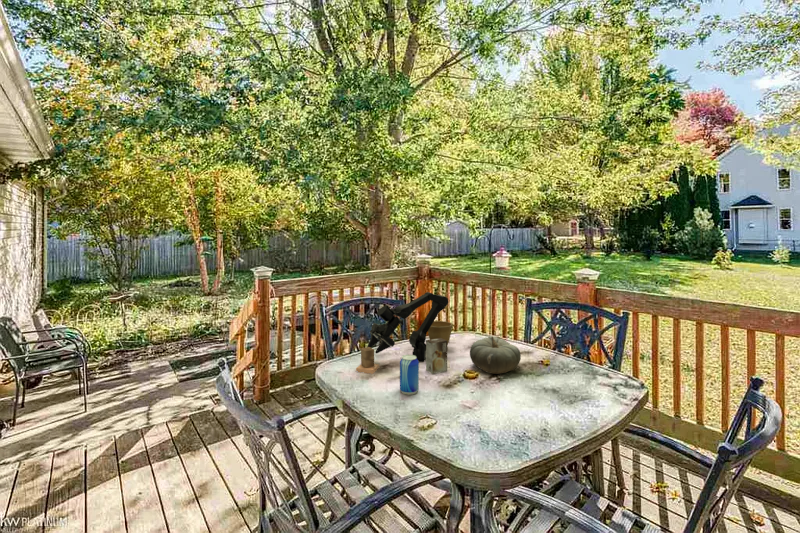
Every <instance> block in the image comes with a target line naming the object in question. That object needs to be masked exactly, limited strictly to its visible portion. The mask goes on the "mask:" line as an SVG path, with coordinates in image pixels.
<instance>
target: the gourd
mask: <svg viewBox="0 0 800 533" xmlns="http://www.w3.org/2000/svg"><path fill="white" fill-rule="evenodd" d="M469 357H470V359H471V362H472V363H473V365H475V367H477V368H479V369H481V370H482V371H484V372H486V373H490V374H496V375H499V374H505V373H507V372H510V371H514V370H515V369H516V368H517V367H518V366H519V364H520V362H521V357H522V356H521V351H520V349H519V348H518V347H517V346H516V345H514V344H510V342H508V341H506V340H505V339H504V338H503V339H502V338H498V337H497V336H494V335H489V336H488V337H484V338H481V339H478V340H476V341H475V342H474V343H472V345H471V346H470V349H469Z"/></svg>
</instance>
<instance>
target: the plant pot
mask: <svg viewBox="0 0 800 533" xmlns="http://www.w3.org/2000/svg"><path fill="white" fill-rule="evenodd" d="M452 330H453V323H452V322H450V321H443V320H434V322H433V323H432V325H431V327H430V329H429V330H428V332H427V334H428V340H430V339H436V338H442V339H444V340H447V347H448V345H449V342H450V338H451V335H452Z"/></svg>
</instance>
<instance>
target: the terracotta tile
mask: <svg viewBox="0 0 800 533" xmlns="http://www.w3.org/2000/svg"><path fill="white" fill-rule="evenodd" d="M378 368H379V369H380V363H374V367H370V368H364V367H363V366H361V364H359V365H358V366H357V367H356V368H355V369H356V370H355V372H356V371H358V372H357V373H361V372H364V373H363V374H369V373H371V375H373V374H374V373H375V372H377V371H378V370H379V369H378ZM377 369H378V370H377Z"/></svg>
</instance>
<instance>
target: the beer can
mask: <svg viewBox="0 0 800 533" xmlns="http://www.w3.org/2000/svg"><path fill="white" fill-rule="evenodd" d="M419 362H420V361H418V360H417V357H416V356H415V355H412V354H405V355H402V356H401V359H400V361H399V391H400V392H401V393H402V394H403V395H408V396H410V395H411V396H412V395H416V394H417V393H418V391H419V387H420V386H419V385H420V384H419V380H420V379H419V375H420V374H419V373H420V363H419Z"/></svg>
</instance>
